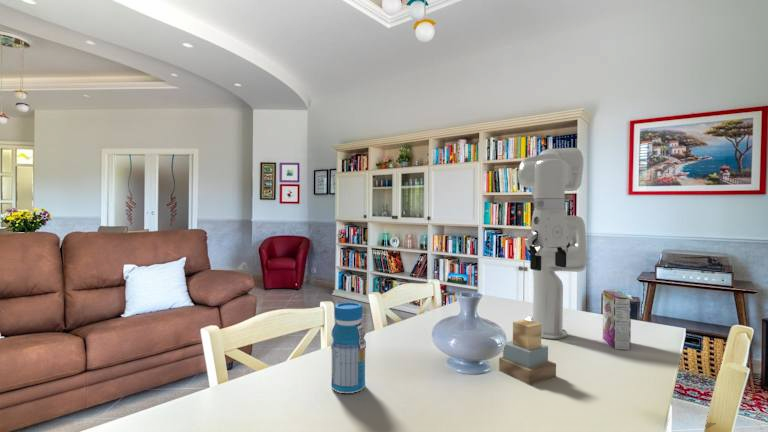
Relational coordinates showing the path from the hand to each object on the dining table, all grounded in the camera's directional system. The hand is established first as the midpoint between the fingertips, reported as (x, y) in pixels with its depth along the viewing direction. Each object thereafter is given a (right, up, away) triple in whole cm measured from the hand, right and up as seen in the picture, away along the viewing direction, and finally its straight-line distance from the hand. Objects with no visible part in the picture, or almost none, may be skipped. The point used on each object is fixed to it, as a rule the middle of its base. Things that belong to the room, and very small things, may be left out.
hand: (548, 268), depth 110 cm
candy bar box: (+30, -27, +20) cm, 45 cm away
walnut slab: (-7, -28, -4) cm, 29 cm away
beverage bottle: (-53, -28, -12) cm, 61 cm away
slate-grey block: (-7, -24, -3) cm, 25 cm away
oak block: (-7, -20, -4) cm, 22 cm away
